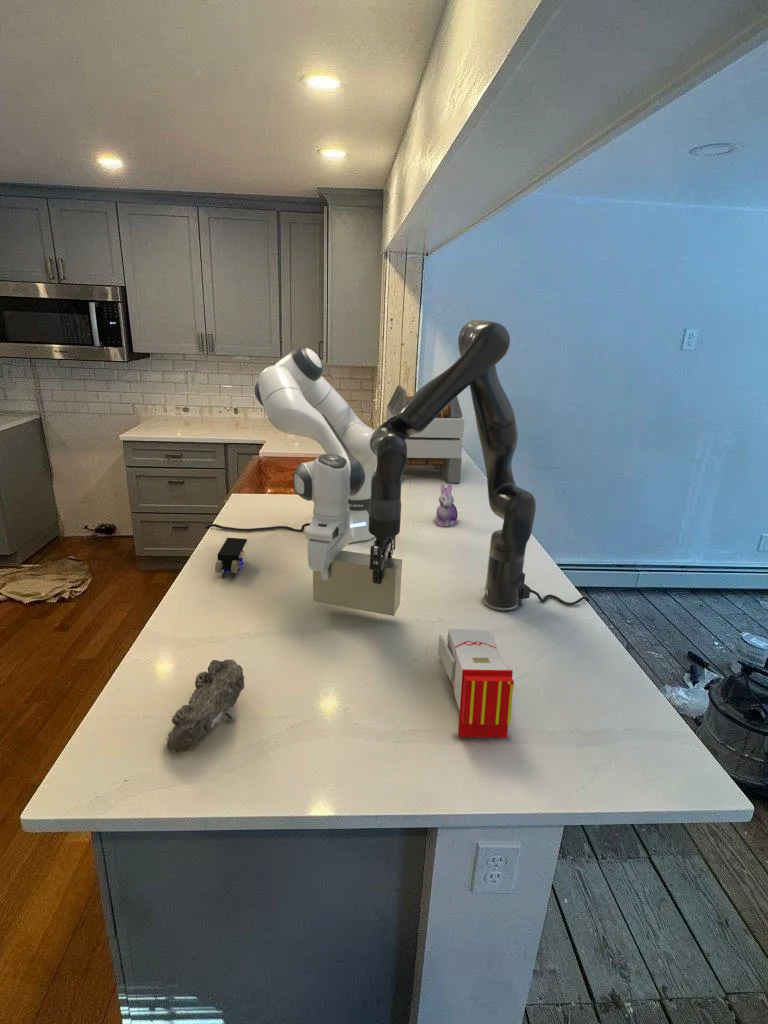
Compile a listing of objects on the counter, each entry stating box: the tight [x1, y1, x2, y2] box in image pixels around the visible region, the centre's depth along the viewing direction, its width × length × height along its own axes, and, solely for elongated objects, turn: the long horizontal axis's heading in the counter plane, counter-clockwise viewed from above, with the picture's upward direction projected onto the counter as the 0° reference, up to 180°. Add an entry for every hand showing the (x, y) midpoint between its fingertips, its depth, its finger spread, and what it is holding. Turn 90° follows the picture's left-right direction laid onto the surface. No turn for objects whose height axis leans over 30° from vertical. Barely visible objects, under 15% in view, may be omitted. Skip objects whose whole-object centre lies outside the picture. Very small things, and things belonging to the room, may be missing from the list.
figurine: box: [434, 483, 459, 527], centre depth 210 cm, size 9×10×15 cm
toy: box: [437, 628, 515, 738], centre depth 117 cm, size 12×13×30 cm
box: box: [312, 550, 403, 617], centre depth 142 cm, size 21×6×13 cm, turn 74°
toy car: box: [214, 537, 248, 578], centre depth 166 cm, size 7×8×15 cm
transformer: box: [385, 384, 465, 484], centre depth 268 cm, size 34×33×41 cm
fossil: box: [166, 658, 245, 754], centre depth 106 cm, size 22×10×15 cm
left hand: (330, 572), depth 143 cm, fingers closed on box, 6 cm apart
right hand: (382, 575), depth 139 cm, fingers open, 8 cm apart
